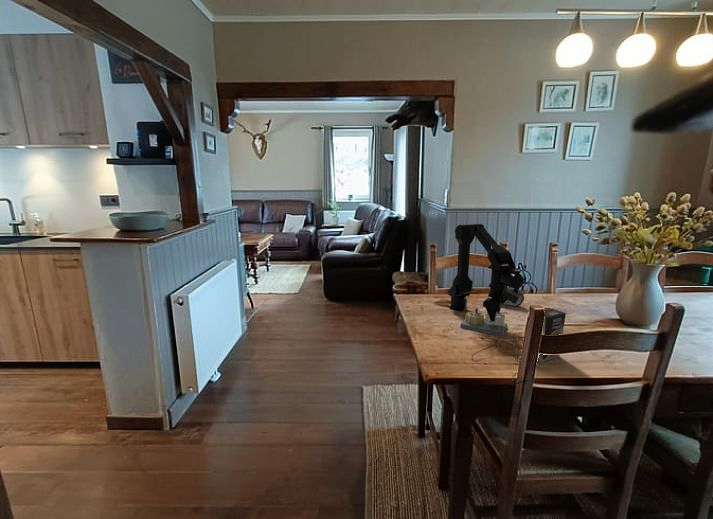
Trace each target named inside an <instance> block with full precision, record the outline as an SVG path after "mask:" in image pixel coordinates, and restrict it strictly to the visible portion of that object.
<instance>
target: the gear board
mask: <svg viewBox="0 0 713 519" xmlns="http://www.w3.org/2000/svg"><path fill="white" fill-rule="evenodd" d="M507 327H508V323H506V322H504V323H503V325H501V324H498V325H495V324H489V323H488V322H487V321H485V314H482V313H481V312H479V308H477V307H475V310H474V311H467V312H466V313H465V319H463V321H462V322H461V323H460V328H461V329H467V330H472V331H476V332H481V333H485V334H489V335H494V336H499V337H502V335H503V334H504V332H505V331H506V329H507Z"/></svg>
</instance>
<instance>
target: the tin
mask: <svg viewBox="0 0 713 519" xmlns="http://www.w3.org/2000/svg"><path fill="white" fill-rule="evenodd" d="M507 288H508V289H512V290H513V289H514V288H511V287H507ZM519 293H520V295H521V296H520V298H519V299H518V301H517V303H516V304H513V303H512V302H510V301H509V300H507V301H506V302H504V303H503V304H504V305H505V306H508V305H509V307H519V306H521V305H522V304H523V302H524V300H525V294H524V293H523V291H521V290H520V289H519ZM503 304H502V305H503ZM504 305H503V306H504Z"/></svg>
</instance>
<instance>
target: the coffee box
mask: <svg viewBox="0 0 713 519" xmlns="http://www.w3.org/2000/svg"><path fill="white" fill-rule="evenodd" d="M543 309H544V311H545V319H544V326H543V334H544V335H559V334H563V335H564V328H565V322H566V315H567V313H566V312H564V311H560V310H557V309H554V308H551V307H548V308H543ZM560 356H561V354H560V355H543V354H540V355H539V359H537V360H538V361H540V362H541V363H544V362H546V361H550V360H554V359H556V358H560Z"/></svg>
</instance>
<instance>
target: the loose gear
mask: <svg viewBox="0 0 713 519" xmlns="http://www.w3.org/2000/svg"><path fill="white" fill-rule="evenodd" d="M484 319H485V321H487V322H488V323H489V324H495V325H498V324H501V325H503V323H505V319H506V315H505V314H503V313H502V312H501V311H500V312H499V313H498V312H497V313H496V317H495V320H494V322H491V320H490V317H489V315H488V312H487V311H486V313H485V316H484Z"/></svg>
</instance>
